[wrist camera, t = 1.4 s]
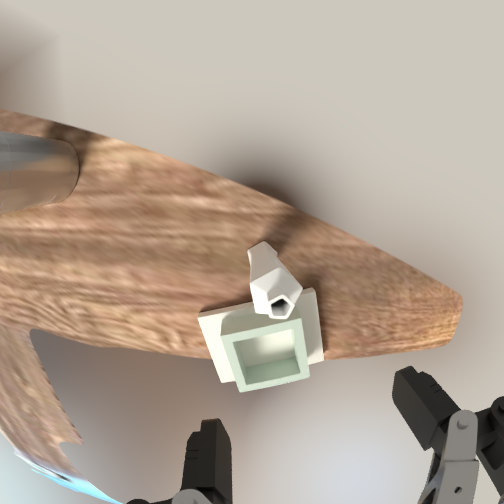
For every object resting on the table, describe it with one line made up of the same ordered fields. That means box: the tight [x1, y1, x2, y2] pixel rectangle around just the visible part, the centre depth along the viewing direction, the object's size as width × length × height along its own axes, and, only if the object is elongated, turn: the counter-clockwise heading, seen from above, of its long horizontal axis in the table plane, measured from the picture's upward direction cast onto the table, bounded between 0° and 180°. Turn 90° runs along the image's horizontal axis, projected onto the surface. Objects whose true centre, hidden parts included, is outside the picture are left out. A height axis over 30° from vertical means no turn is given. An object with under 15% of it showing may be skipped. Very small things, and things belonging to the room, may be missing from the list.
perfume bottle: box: [248, 241, 303, 319], centre depth 28 cm, size 5×4×15 cm
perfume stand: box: [198, 287, 324, 392], centre depth 35 cm, size 16×12×6 cm
